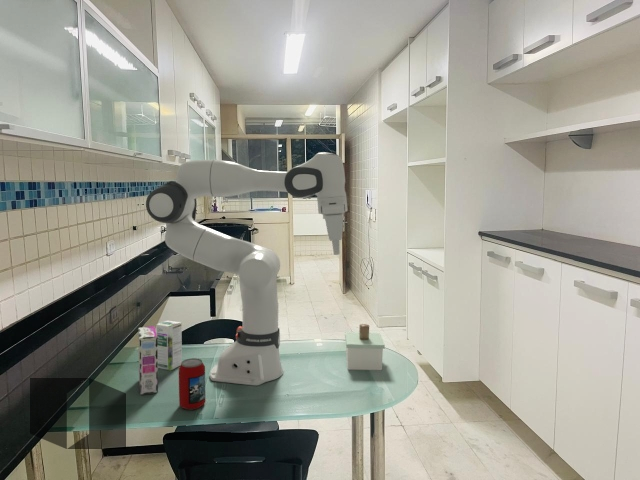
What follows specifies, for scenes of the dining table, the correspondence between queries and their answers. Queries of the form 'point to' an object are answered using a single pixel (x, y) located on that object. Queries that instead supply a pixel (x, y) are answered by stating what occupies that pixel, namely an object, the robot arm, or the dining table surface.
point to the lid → (364, 339)
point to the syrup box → (169, 344)
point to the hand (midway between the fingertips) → (336, 252)
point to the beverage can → (191, 383)
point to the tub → (364, 358)
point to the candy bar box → (148, 360)
